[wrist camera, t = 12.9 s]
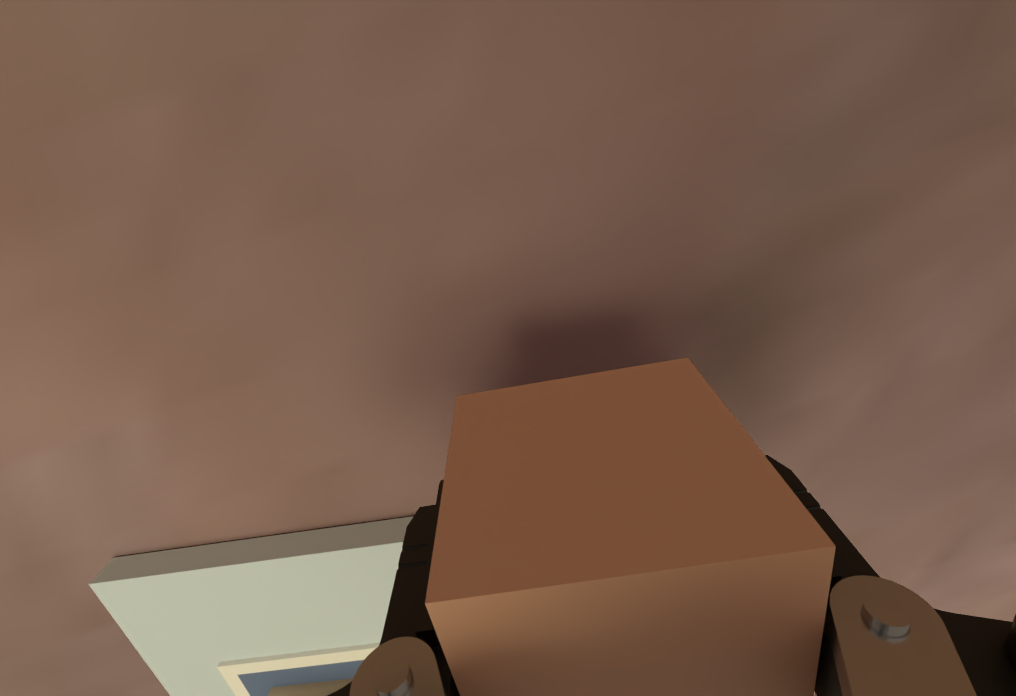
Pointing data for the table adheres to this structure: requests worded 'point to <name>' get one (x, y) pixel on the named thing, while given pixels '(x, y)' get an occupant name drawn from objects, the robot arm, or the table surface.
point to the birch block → (310, 688)
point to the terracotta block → (622, 545)
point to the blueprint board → (257, 607)
